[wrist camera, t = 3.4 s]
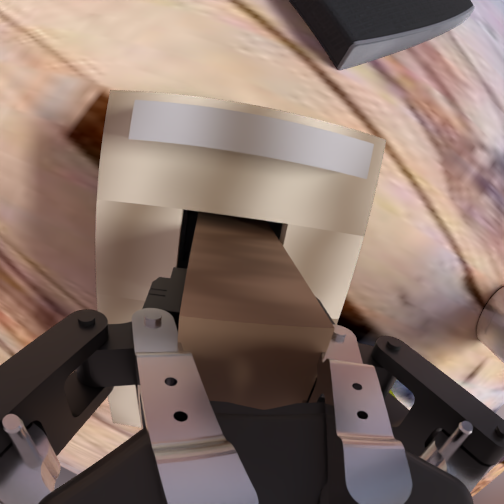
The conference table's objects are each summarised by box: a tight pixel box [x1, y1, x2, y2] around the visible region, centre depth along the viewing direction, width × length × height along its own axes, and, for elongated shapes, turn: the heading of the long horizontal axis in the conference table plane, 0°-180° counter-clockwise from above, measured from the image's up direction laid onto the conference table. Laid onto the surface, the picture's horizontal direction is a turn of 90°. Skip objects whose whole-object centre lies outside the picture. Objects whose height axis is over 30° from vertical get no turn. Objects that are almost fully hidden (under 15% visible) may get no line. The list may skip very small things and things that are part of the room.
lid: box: [95, 90, 386, 428], centre depth 16 cm, size 14×22×3 cm, turn 170°
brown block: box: [178, 211, 335, 410], centre depth 15 cm, size 4×4×15 cm
